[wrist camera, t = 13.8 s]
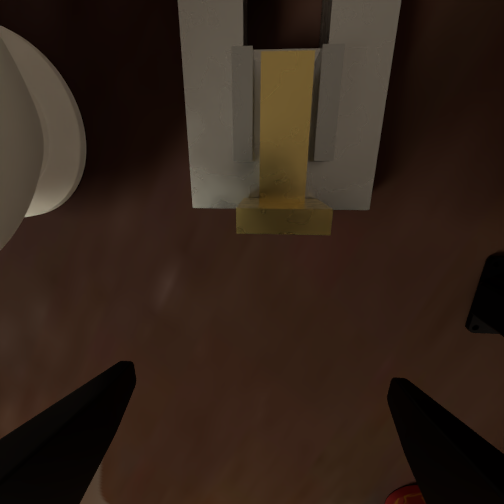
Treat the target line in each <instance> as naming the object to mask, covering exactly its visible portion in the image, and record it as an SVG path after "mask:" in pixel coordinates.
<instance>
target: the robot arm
mask: <svg viewBox="0 0 504 504" xmlns="http://www.w3.org/2000/svg"><path fill="white" fill-rule="evenodd" d="M495 262H496V264H495V265H494V263H495ZM474 325H475V326H474ZM473 326H474V327H473ZM465 327H466V328H467V329H468V330H469V331H470V332H472V333H491V334H500V335H502V336H503V337H504V256H492V257H490V258H488V259H487V261H486V263H485V266H484V269H483V272H482V275H481V278H480V281H479V284H478V288H477V291H476V294H475V297H474V300H473V303H472V306H471V309H470V312H469V315H468V318H467V321H466V325H465ZM135 385H136V375H135V369H134V364H133V362H131V361H120V362H118V363H117V364H115V365H113V366H112V367H110V368H109V369H107V370H106V371H104V372H103V373H101V374H100V375H98V376H97V377H95V378H93V379H92V380H90V381H89V382H87V383H86V384H84V385H83V386H81V387H80V388H78V389H77V390H75V391H73V392H72V393H70V394H69V395H67V396H66V397H64V398H63V399H61V400H60V401H58V402H57V403H55V404H53V405H52V406H50V407H49V408H47V409H46V410H44V411H43V412H41V413H40V414H38V415H37V416H35V417H34V418H32V419H30V420H29V421H27V422H26V423H24V424H23V425H21V426H20V427H18V428H17V429H15V430H14V431H12V432H10V433H9V434H7V435H6V436H4V437H3V438H1V439H0V504H80V502H81V500H82V498H83V496H84V494H85V492H86V490H87V488H88V486H89V484H90V482H91V480H92V479H93V477H94V475H95V473H96V471H97V469H98V467H99V465H100V463H101V461H102V459H103V457H104V455H105V453H106V451H107V450H108V448H109V446H110V444H111V442H112V440H113V438H114V436H115V434H116V432H117V429H118V427H119V425H120V422H121V420H122V417H123V415H124V412H125V410H126V407H127V405H128V403H129V400H130V398H131V395H132V393H133V390H134V388H135ZM387 401H388V405H389V408H390V411H391V414H392V417H393V420H394V423H395V426H396V429H397V432H398V435H399V438H400V441H401V445H402V447H403V450H404V453H405V456H406V458H407V461H408V463H409V465H410V468H411V470H412V472H413V475H414V477H415V479H416V482H417V484H418V486H419V489H420V491H421V493H422V496H423V498H424V500H425V503H426V504H504V454H503V453H502V452H500V451H499V450H498V449H496V448H495V447H494V446H493V445H491V444H490V443H489V442H487V441H486V440H485V439H484V438H482V437H481V436H480V435H478V434H477V433H476V432H474V431H473V430H472V429H471V428H469V427H468V426H467V425H465V424H464V423H463V422H462V421H460V420H459V419H458V418H456V417H455V416H454V415H453V414H451V413H450V412H449V411H447V410H446V409H445V408H444V407H442V406H441V405H440V404H438V403H437V402H436V401H435V400H433V399H432V398H431V397H429V396H428V395H427V394H425V393H424V392H423V391H422V390H420V389H419V388H418V387H416V386H415V385H414V384H413V383H411V382H410V381H409V380H407V379H405V378H392V380H391V383H390V387H389V391H388V395H387Z"/></svg>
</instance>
